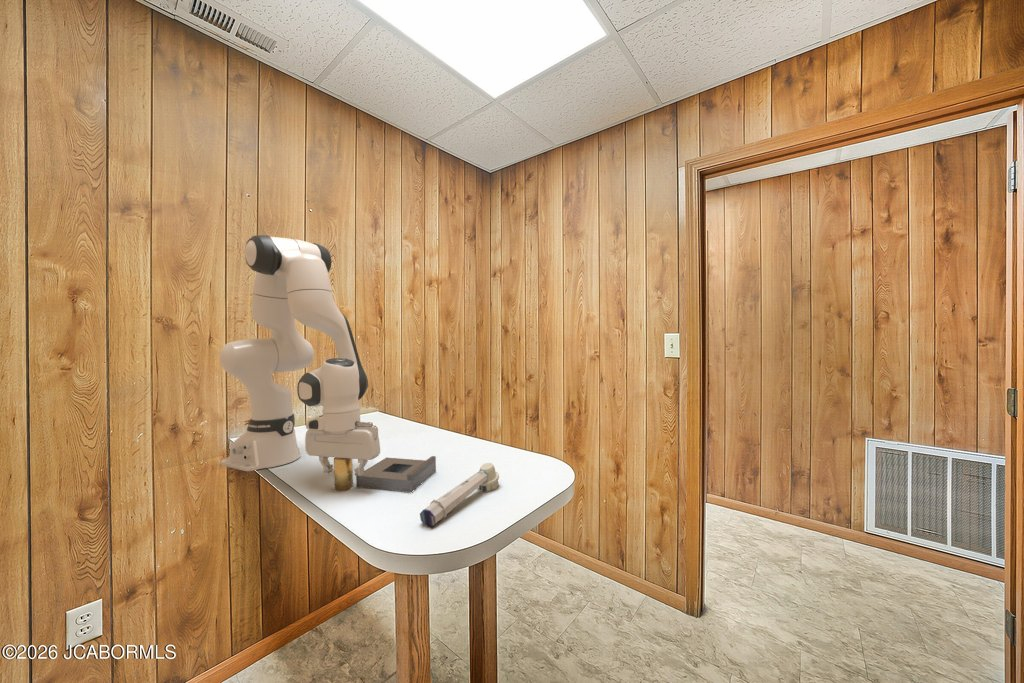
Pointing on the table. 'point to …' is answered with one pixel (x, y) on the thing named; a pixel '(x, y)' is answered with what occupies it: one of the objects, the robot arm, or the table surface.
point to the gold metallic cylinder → (343, 474)
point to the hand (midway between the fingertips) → (343, 473)
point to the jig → (397, 474)
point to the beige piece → (460, 494)
